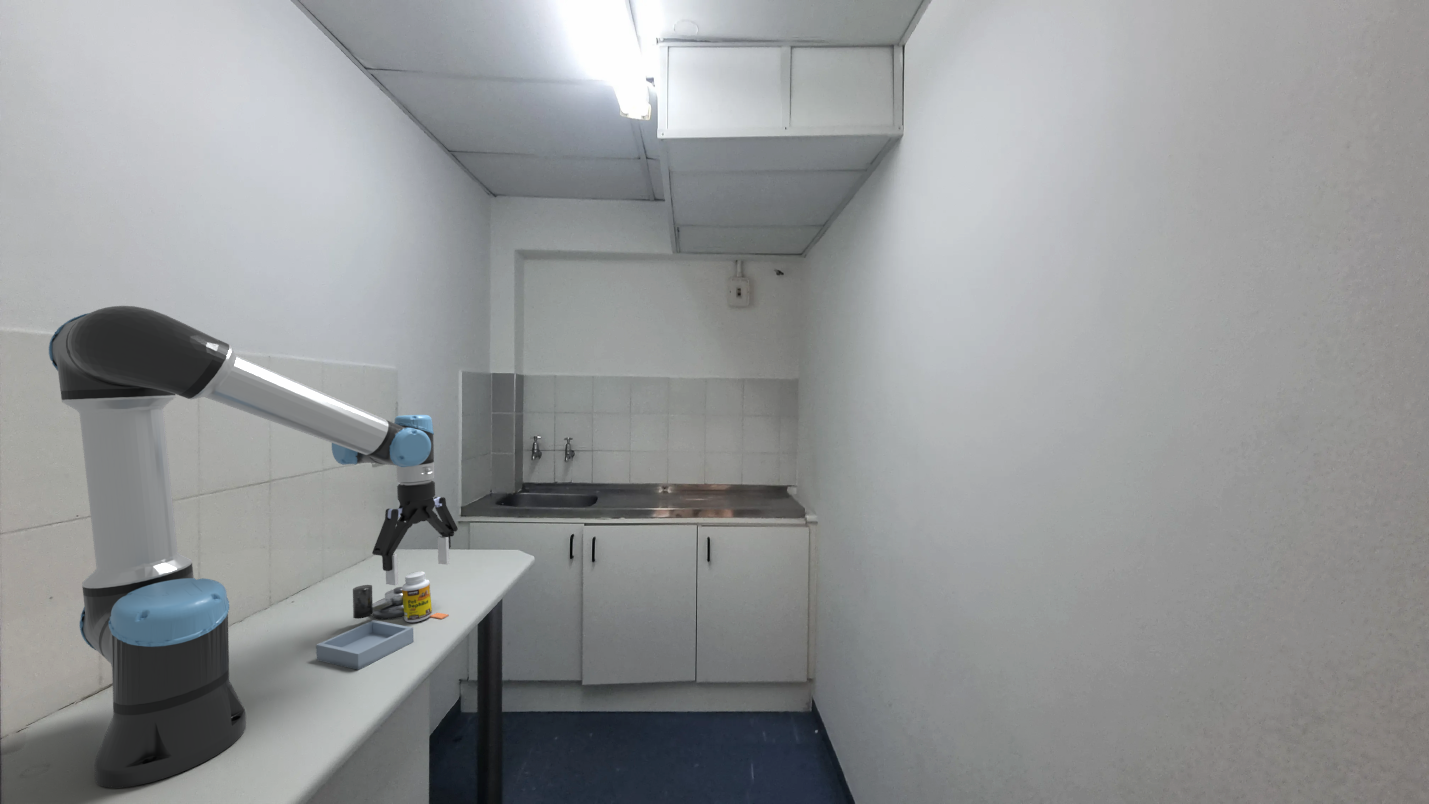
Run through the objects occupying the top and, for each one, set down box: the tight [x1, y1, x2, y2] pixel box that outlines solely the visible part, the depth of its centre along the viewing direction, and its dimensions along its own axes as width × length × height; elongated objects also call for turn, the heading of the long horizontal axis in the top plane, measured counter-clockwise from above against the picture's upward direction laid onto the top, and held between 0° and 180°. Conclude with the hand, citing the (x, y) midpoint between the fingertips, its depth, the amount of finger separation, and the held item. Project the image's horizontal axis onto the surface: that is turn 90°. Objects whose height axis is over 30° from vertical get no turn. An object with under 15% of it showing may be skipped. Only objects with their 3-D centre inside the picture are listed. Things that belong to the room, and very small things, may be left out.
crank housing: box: [372, 597, 404, 621], centre depth 124 cm, size 11×11×2 cm
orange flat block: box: [429, 612, 450, 620], centre depth 120 cm, size 2×4×1 cm, turn 70°
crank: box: [352, 584, 403, 620], centre depth 120 cm, size 14×6×6 cm, turn 160°
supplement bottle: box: [401, 570, 433, 623], centre depth 118 cm, size 6×6×10 cm
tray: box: [315, 619, 414, 671], centre depth 104 cm, size 12×12×3 cm
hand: (419, 573), depth 119 cm, fingers open, 13 cm apart
